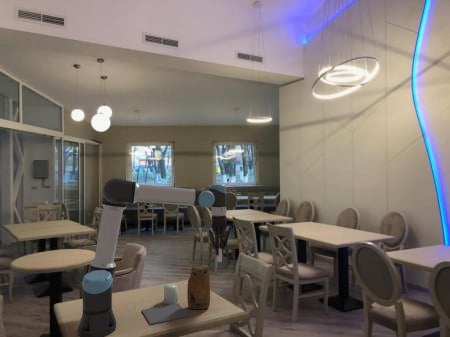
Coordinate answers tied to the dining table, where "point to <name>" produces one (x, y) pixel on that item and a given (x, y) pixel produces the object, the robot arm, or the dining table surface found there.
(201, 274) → the block
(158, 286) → the dining table surface
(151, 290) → the dining table surface
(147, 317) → the mat
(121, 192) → the robot arm
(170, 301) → the grey cylinder
